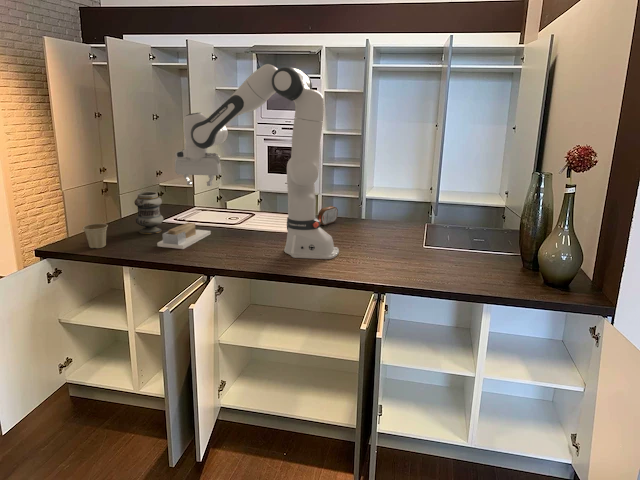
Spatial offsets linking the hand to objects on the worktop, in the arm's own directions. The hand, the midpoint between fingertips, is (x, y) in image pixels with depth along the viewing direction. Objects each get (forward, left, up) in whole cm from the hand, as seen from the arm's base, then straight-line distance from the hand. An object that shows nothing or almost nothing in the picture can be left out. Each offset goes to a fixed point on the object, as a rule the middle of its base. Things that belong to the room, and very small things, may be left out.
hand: (199, 185), depth 207 cm
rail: (+6, +6, -22) cm, 24 cm away
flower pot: (+35, +24, -24) cm, 49 cm away
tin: (-46, -45, -24) cm, 69 cm away
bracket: (+6, +4, -24) cm, 25 cm away
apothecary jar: (+28, -3, -24) cm, 37 cm away
